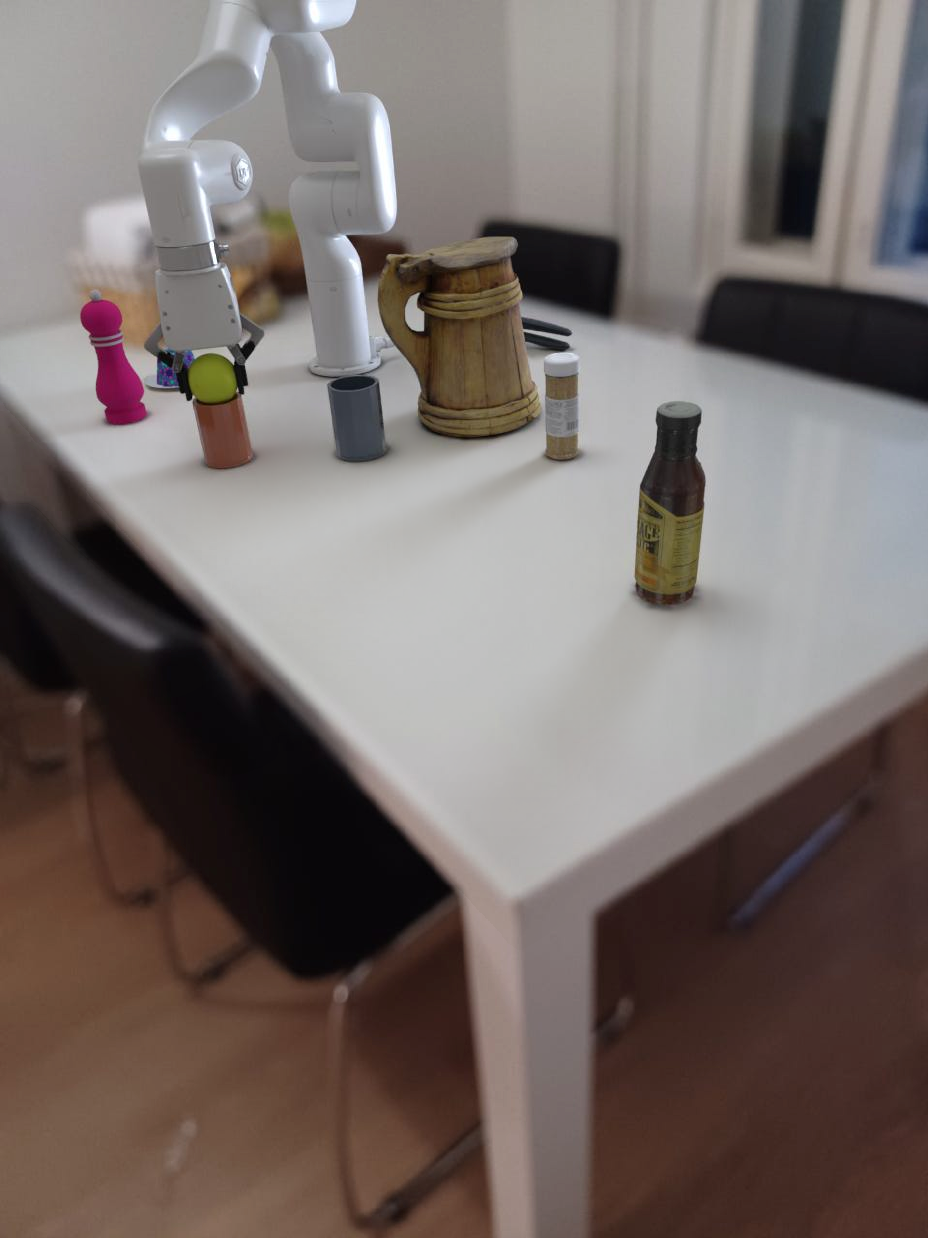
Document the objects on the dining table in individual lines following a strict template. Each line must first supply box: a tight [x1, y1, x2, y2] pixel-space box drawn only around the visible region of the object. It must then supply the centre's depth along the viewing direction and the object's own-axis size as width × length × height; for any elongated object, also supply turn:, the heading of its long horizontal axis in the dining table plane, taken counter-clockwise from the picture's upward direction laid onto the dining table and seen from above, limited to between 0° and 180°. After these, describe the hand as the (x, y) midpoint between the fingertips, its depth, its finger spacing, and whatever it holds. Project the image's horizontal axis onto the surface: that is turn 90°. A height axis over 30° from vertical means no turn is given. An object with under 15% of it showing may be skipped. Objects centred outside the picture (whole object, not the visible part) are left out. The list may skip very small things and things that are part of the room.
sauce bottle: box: [633, 400, 707, 606], centre depth 92 cm, size 7×6×20 cm
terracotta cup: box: [191, 390, 254, 469], centre depth 133 cm, size 7×7×9 cm
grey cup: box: [326, 374, 387, 463], centre depth 132 cm, size 7×7×10 cm
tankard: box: [377, 236, 542, 438], centre depth 137 cm, size 18×24×25 cm
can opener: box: [521, 316, 573, 351], centre depth 172 cm, size 18×7×6 cm, turn 58°
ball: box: [187, 352, 238, 405], centre depth 129 cm, size 7×7×7 cm
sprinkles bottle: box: [543, 352, 580, 461], centre depth 126 cm, size 5×5×13 cm
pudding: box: [144, 348, 196, 389], centre depth 167 cm, size 12×12×5 cm
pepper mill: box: [79, 289, 148, 426], centre depth 148 cm, size 7×7×20 cm
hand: (215, 393), depth 130 cm, fingers closed on ball, 6 cm apart
